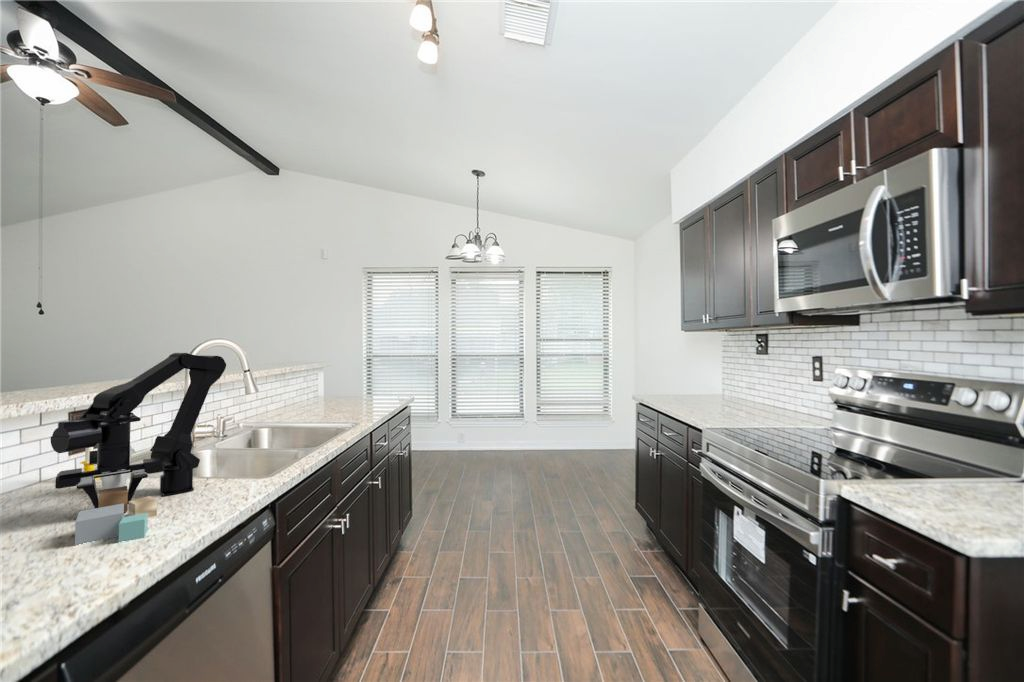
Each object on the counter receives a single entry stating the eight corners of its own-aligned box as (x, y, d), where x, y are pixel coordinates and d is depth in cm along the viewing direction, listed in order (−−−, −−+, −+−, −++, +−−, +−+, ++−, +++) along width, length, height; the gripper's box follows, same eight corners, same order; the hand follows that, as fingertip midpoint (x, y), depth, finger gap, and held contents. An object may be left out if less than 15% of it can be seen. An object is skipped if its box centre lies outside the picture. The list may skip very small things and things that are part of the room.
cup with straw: (85, 493, 112) (86, 420, 112) (124, 482, 121) (125, 414, 121) (105, 496, 110) (106, 422, 110) (144, 485, 118) (145, 416, 118)
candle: (87, 476, 126) (88, 426, 126) (106, 476, 126) (106, 425, 126) (70, 482, 120) (71, 429, 120) (89, 482, 121) (90, 429, 121)
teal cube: (147, 531, 90) (147, 512, 90) (144, 538, 87) (144, 519, 87) (122, 535, 88) (123, 517, 88) (118, 543, 85) (118, 523, 85)
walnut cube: (126, 505, 103) (127, 485, 103) (127, 511, 100) (127, 490, 100) (98, 511, 100) (98, 490, 100) (98, 517, 96) (98, 496, 96)
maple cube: (149, 512, 100) (149, 495, 100) (156, 515, 98) (157, 499, 98) (128, 518, 97) (128, 501, 97) (135, 522, 95) (135, 504, 95)
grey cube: (123, 525, 93) (123, 503, 93) (122, 536, 88) (122, 512, 88) (78, 534, 88) (79, 511, 89) (74, 546, 83) (75, 522, 83)
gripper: (161, 431, 112) (160, 489, 112) (59, 443, 99) (58, 507, 99) (165, 438, 104) (164, 500, 104) (55, 452, 91) (54, 522, 91)
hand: (113, 506), depth 100 cm, fingers closed on walnut cube, 5 cm apart
